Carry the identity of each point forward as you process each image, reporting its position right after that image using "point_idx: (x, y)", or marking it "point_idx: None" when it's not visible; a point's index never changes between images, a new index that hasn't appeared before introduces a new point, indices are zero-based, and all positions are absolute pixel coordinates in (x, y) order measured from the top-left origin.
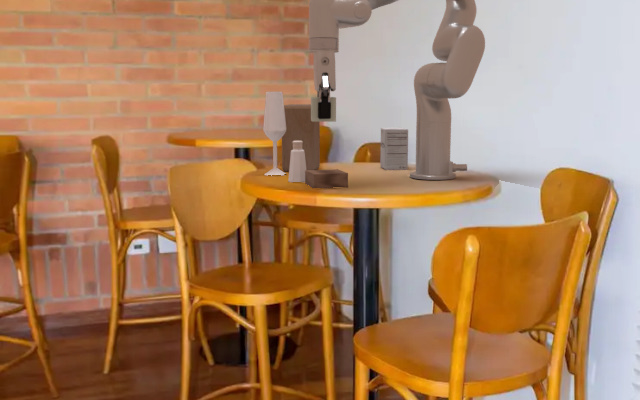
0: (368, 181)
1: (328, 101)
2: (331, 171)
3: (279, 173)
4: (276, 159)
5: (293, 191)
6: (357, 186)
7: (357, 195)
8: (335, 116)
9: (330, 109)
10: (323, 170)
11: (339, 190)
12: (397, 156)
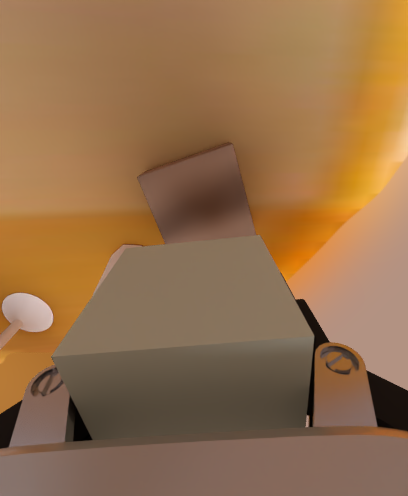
0: (105, 75)
1: (350, 361)
2: (192, 194)
3: (38, 307)
4: (6, 335)
5: (283, 261)
6: (212, 114)
7: (370, 116)
8: (267, 249)
9: (297, 303)
10: (171, 216)
11: (280, 164)
12: None
